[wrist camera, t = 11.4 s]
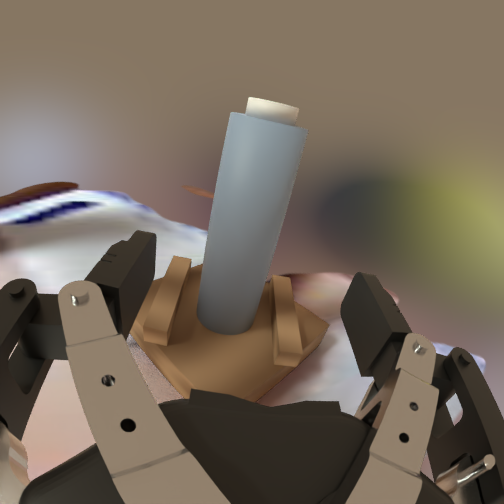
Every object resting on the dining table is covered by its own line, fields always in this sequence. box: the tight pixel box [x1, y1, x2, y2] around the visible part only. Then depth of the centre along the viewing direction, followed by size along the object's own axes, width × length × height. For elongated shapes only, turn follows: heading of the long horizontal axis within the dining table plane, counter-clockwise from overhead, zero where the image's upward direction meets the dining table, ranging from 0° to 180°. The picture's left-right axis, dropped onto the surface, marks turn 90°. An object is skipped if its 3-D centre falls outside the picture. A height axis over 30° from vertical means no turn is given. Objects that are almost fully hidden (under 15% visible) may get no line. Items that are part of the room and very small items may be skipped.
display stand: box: [130, 256, 329, 403], centre depth 24 cm, size 15×15×6 cm
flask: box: [196, 97, 308, 335], centre depth 20 cm, size 5×5×17 cm
